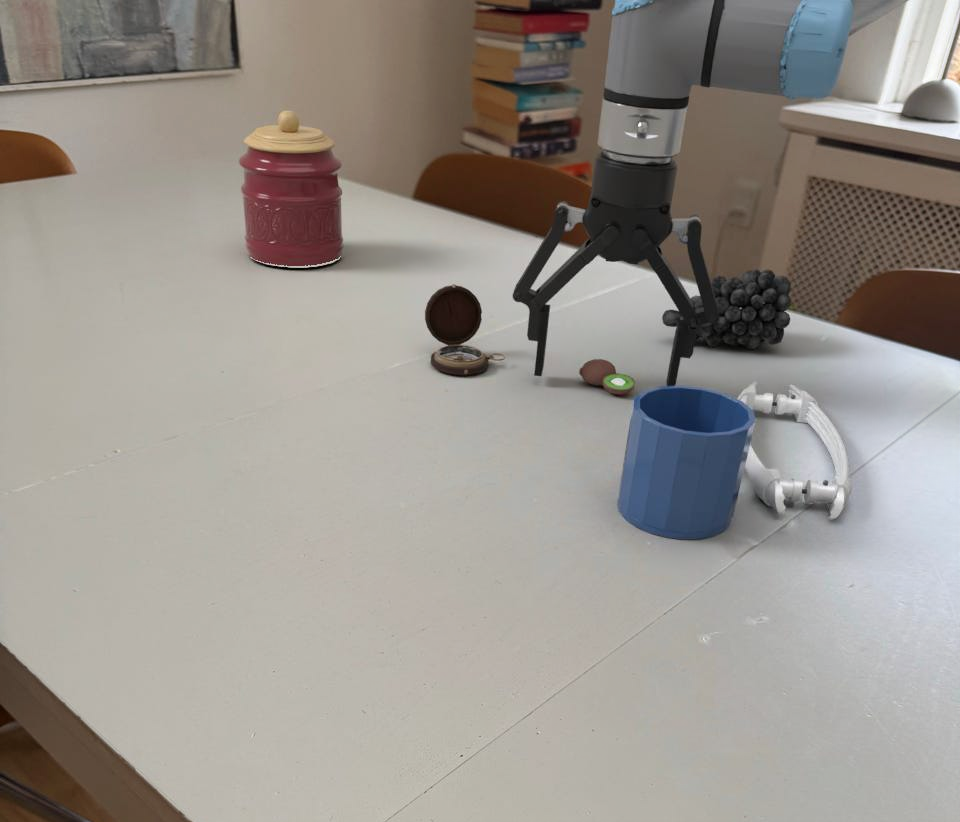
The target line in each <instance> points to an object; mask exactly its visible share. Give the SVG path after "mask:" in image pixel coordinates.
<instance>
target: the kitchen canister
mask: <svg viewBox="0 0 960 822" xmlns="http://www.w3.org/2000/svg"><path fill="white" fill-rule="evenodd" d="M243 142H244V145H246V147H247V151H246V152H245V153H244V154H242V155H241V156H240V157H239V159H238V164H239V165H240V167H241V168H242V169H243V184H242V185H241V187H240V191H241V193H242V200H243V211H244V212H243V213H244V227H245V235H244V240H245V248H246V250H247V255H248V254H249V256H250V257H252V258H253V259H255V260H258V261H261V262H264V263H269V264H270V263H271V264H275V265H276V264H277V265H284V266H286V265H287V266H305V265H306V266H308V265H310V266H311V265H317V264H322V263H326V262H330V261H333V260H335V259H338V258H339V257H340V256H341V255H343V250H344V236H343V228H342V227H343V225H342V223H343V222H342V196H343V189H342V188H341V187H340V186H339V176H338V172H339V170H340V169H341V168H342V166H343V164H342V161H341V160H340V159H339V158H338V157H337V156H335V155H334V154H333V151H332V149H333V148H334V147H335V141H334V140H333V139H331V138H330V137H328V136H327V135H326V134H325V133H324V132H323V130H321V129H318V128H315V127H312V126H311V127H310V126H305V125H300V119H299V117H298V115H297V113H296V112H294V111H293V110H289V109H288V110H282V111H281V112H280V113H279V114H278V118H277V124H274V125H264V126H260V127H257V128H255V129H254V130H253V132H252V133H250V134H249V135H248V136H246V137H244V139H243ZM249 256H248V257H249ZM250 257H249V258H250Z"/></svg>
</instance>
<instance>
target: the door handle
mask: <svg viewBox="0 0 960 822" xmlns="http://www.w3.org/2000/svg"><path fill="white" fill-rule="evenodd" d="M757 385H758V382H757V381H756V380H753V381H751V383H750V384H749V385H748V386H746V388H744V389H743V390H742V391H741V393H740V394H739V396H738V397H737V399H738V400H740V401H742V402H744V403H745V404H746V405H747V406H748V407H749V408H751V409H752V410H753V411H759V412H761V413H763V414H771V411H772V408H773V407H774V414H775V415H784V414H792V415H794V418H795V421H796V423H804V424H808V425H809V426H810V427H811V428H813V430H814V431H815V433H816V434H817V436H818V437H819V438H820V440H821V441H822V442H823V444H824V446H825V447H826V449H827V450H828V453H829V455H830V457H831V459H832V463H833V466H834V470H835V475H834V476H833V478H832V479H833V480H832V483H829V480H828V479H827V480H826V479H825V480H823V482H819V481H818V480H813V479H808V480H807V481H806V484H805V487H804V488H803V479H802V478H791V479H783V478H782V479H781V474H780V472H779V469H776V468H775V469H774V468H766V467H765V465H764V464H763V463H762V461H761V460H760V459H759V456H758V455H757V454H756V452H755V450H754V449H753V447H752V445H751V443H750V447H749V451H748V455H747V460H746V464H745V468H744V472H745V473H746V474H747V476H748V477H749V479H750V481H751V482H752V486H753V487H752V488H753V491H754V492H755V494H756V495H757V496H758V497H759V498H760V499H761V500H762V501H763V502H764V504H765V505H766V506H768V507H772V508H773V509H774V510H775V511H776V512H777V513H778V514H779V515H786V514H787V513H786V511H785V510H786V509H787V507H786V505H785V504H784V500H785V499H786V500H788V501H789V502H793V503H799V502H800V499H801V497H802V495H803V501H804V504H815V503H825V504H826V506H827V508H828V511H829V513H830V514H829V516H828V520H830V521H831V520H832V521H834V520H836V519H837V518H838V517H839V515H840V514H841V513H842V511H843V509H844V508H845V507H846V506H847V504H848V502H849V499H850V497H851V494H852V490H853V484H852V482H851V480H850V463H849V458H848V453H847V451H846V447H845V445H844V442H843V440H842V438H841V435H840V434H839V432H838V430H837V429H836V427H835V426H834V424H833V423H832V421H831V419H829V417H828V416H827V415H826V414H825V413H824V411H823V410H822V409H821V407H819V403H818V401H817V400H816V399H815V398H814V397H812V396H811V395H810V394H809V393H808V392H807V391H805V390H800V389H799V388H798V387H796V386H795V385H794V384H790V385H789V389H788V394H789V396H787V395H786V394H781V393H778V394H777V396H776V399H775V401H774V394H773V393H772V392H764V393H762V394H760V393H757V390H756V389H757Z"/></svg>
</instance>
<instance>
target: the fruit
mask: <svg viewBox="0 0 960 822" xmlns="http://www.w3.org/2000/svg"><path fill="white" fill-rule="evenodd" d="M711 285H712V289H713V292H714V296H715V299H716V303H717V307H718V312H719V320H718V321H717V322H716V323H713V324H712V323H706V324H703V325H701V326H700V327H699V328H698V330H697V335H696V340H695V342H697V341H698V340H699V339H701V338H704V339H705V340H706V343H707V344H708V345H709V346H710V347H715V346H718V344H719V343H720V341H721V340H722V341H723V342H724V344H728V345H731V346H733V347H734V346H735V347H738V346H740V345H744V347H745V348H746V349H748V350H756V348H758V346H760V345H762V344H764V343H765V342H767V343H768V344H769V345H772V346H775V345H779V344H780V343H782V342H783V338H784V336H785V329H786V328H787V327H788V326H789V325H790V322H791V315H790V314H789V313H788V312H787V310H791V311H795V312H796V311H797V308H796V307H794V306H791V304H792V299H791V297H790V296H789V295H790V293H791V286H792V282H791V281H790V279H788V277H787V276H784V275H782V274H779V275H776V274H775V272H774V271H773V270H771V269H764V270H762V271H760V270H759V269H751V270H750V269H749V270H746V271H745V272H744V273H743V274H742V275H741V279H740V278H739V277H735V276H734V277H732V278H729V279H727V278H726V277H725V276H723V275H718V276H715V277H713V279H712V280H711ZM690 299H691V300H692V302H693V304H694V305H695V307H696V309H697V308H702V307H703V304H702V300H701V297H700V295H694V296H691V297H690ZM678 319H682V320H684V318H683V317H682V315H681V313H680V312H679V310H678V309H677V310H676V309H666V310H665V311H664V313H663V314H662V316H661V320H662V324H663V325H664V326H666V327H670V328H676V326H677V321H678ZM675 332H676V330H675V331H674V333H675Z"/></svg>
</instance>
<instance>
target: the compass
mask: <svg viewBox="0 0 960 822" xmlns="http://www.w3.org/2000/svg"><path fill="white" fill-rule="evenodd" d="M482 313H483V310H482V306H481V303H480V301H479V299H478V298H477V296H476V295H475V294H474V293H473V292H472V291H471V290H469V289H468V288H466V287H464V286H462V285H456V284H453V283H452V284H451V285H446V286H443V287H440V288H439V289H437V290H436V291H435V292H434V293H433V294H431V296H430V298H429V299H428V301H427V303H426V306H425V310H424V321H425V325H426V328H427V330H428V331H429V333H430V335H431V336H432V337H433V338H434V339H436V340H437V341H438V342H439V343H442V344H443V345H445V346H442V347H440V348H438V349H437V350H436V351H434V352H433V353H431V355H430V364H431V366H433V368H434V369H436V370H437V371H439V372H442V373H445V374H449V375H453V376H469V375H470V376H471V375H472V376H473V375H477V374H480V373H482V372H484V371H486V370H487V368H489V361H491V360H492V361H504V360H505V359H506V356H505V355H504V354H502V353H497V352H496V353H495V352H494V353H493V352H492V353H489V354H485V353H484V352H483V351H481V350H480V349H479V348H477V347H474V346H471V345H466V344H465V343H467V342H468V341H470V340H471V339H472V338H473V337H474V336H475V335H476V334H477V333H478V331H479V329H480V327H481V323H482V321H483V318H482ZM494 356H502V357H503V358H494Z"/></svg>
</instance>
